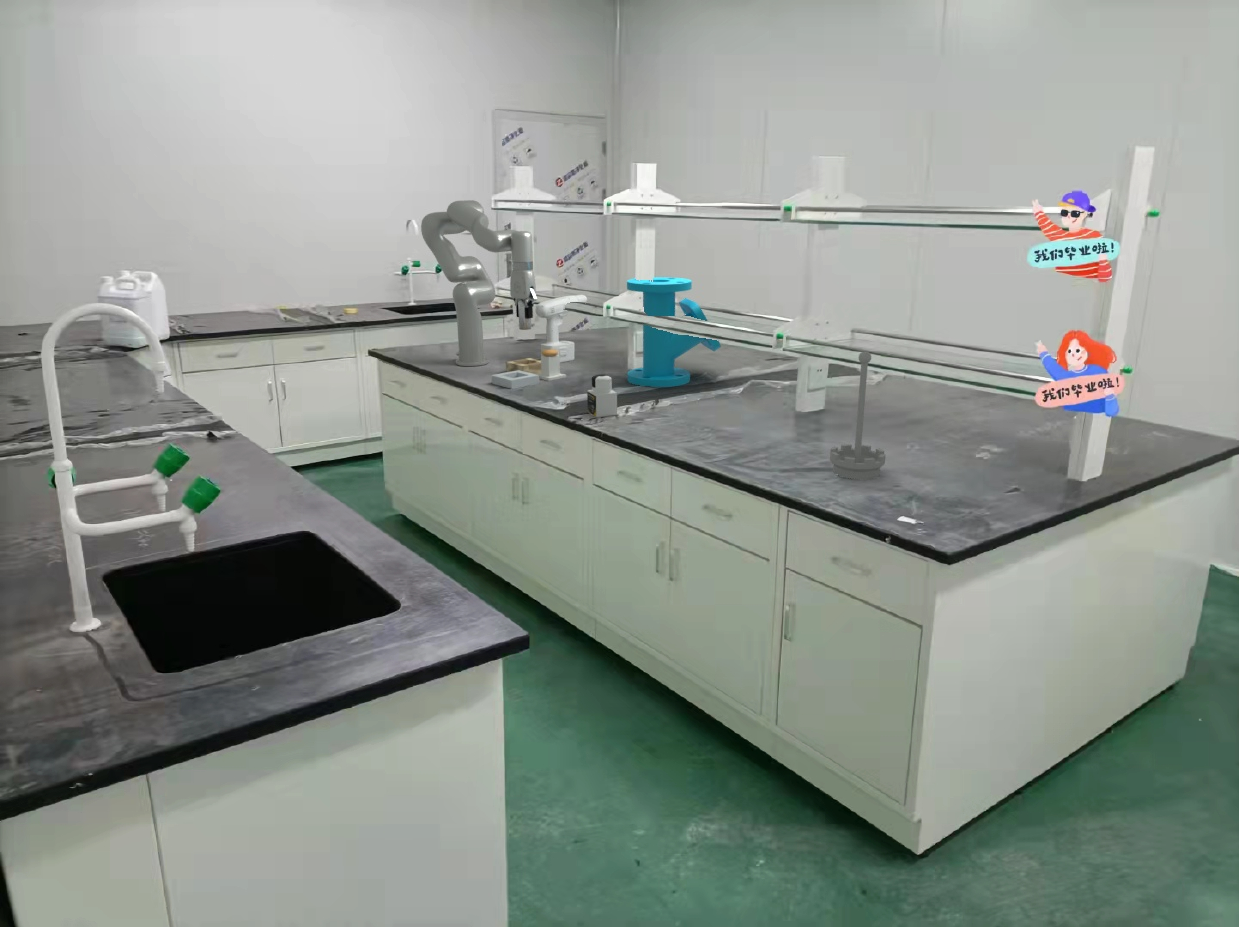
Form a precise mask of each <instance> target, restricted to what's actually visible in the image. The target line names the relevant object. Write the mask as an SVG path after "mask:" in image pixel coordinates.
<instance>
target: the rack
mask: <svg viewBox="0 0 1239 927" xmlns="http://www.w3.org/2000/svg"><path fill="white" fill-rule="evenodd" d="M517 370H520V371H524V372H528V373H532V374H536V375H537V374H541V359H535V358H531V357H527V358H522V359H516V360H509V361H505V373H506V372H512V371H517Z"/></svg>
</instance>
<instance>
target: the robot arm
mask: <svg viewBox="0 0 1239 927" xmlns="http://www.w3.org/2000/svg"><path fill="white" fill-rule="evenodd" d="M489 224H490V222H489V217H488V216H487V215H486V214H485V210H484V207H483V206H482V204H481V203H479V202H478V201H476V200H475V199H473V200H469V199H468V200H455V201H452V202H451V203H450V204H448V206H447V208H446V211H435V212H431V213H428V214H426V215H425V216H424V217H423V218H422V220H421V225H420V232H421V235H422V239H423V240H424V241H423V242H424V243H425V245H426V246H427V247H428V248H429V251H431V253H432V255H433V256H434V258H435V259H436V261H437V263H438V265H439V268H440V269H441V271H442V273H443V274H444V276H445V278H446V279H447V281H449V282H450V283H454V284H455V283H457V284H456V285H455V286H454V288H453V290H452V300H453V303H454V307H455V314H456V324H457V326H456V327H457V339H458V351H457V352H455V353H456V354H455V356H458V359H456V360H455V365H457V366H460V367H461V366H462V367H475V366H476V367H478V366H484V365H487V364H488V363H489V359H488V358H487V357H486V358H485V356H484V355H485V353H484V334H483V333H484V331H483V318H482V315H481V312H480V310H479V308H478V306H482V305H484V306H485V305H487V304H490V303H492V302H493V301H495V298H496V289H495V286H494V283H493V281H492V279H491V277H490V276H489V274H488V272H487V270H486V268H485V267H484V265H483V263H482V262H481V261H480V260H479V259H478V258H477V257H475V256H472V255H468V256H467V255H465V256H462V255H461V254H459V252H458V251H457V249H456V247H455V245H454V244H453V243H452V242H451V241H450V240H449V239H448V238H446V237H445V236H444V235H458V234H462V233H463V232H466V231H467V232H468V233H469V234H471V235H472V238H473V240H474V242H475V243H476V244H477V245H478V246H479V247H481V248H482V249H484V250H486V251H488V252H491V253H503V252H504V253H505V252H511V271H510V272H511V273H510V278H509V279H510V280H509V281H510V284H509V285H510V286H509V293H510V297H511V298H512V300H513V302H514V306H515V308H516V309H515V311H516V312H515V313H516V318H519V311H518V299H524V300H525V305H526V308H525V319H529V318H531V319H533V318H534V312H533V309H534V304H535V303H536V302H537V300H538V298H537V289H536V276H535V272H534V261H533V260H534V256H533V255H534V254H533V235H532V233H531V232H530V231H527V230H526V231H525V230H524V231H523V230H520V231H519V230H515V229H501V230H492V229H490V228H489ZM527 298H528V299H527ZM528 300H530V301H529V302H528Z"/></svg>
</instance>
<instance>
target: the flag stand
mask: <svg viewBox="0 0 1239 927" xmlns="http://www.w3.org/2000/svg"><path fill="white" fill-rule="evenodd" d="M871 360H872V354H871V353H870V352H869V351H866V350H865V351H861V352H860V353H859V354H858V361H859V362H860V372H859V375H860V376H859V389H858V401H857V412H856V413H857V416H856V425H855V426H856V427H855V428H856V429H855V439H854V448H852V444H851V443H849V444H847V443H846V444H845V443H844V444H841V445H840V449H839V448H838V446H833V447H831V449H830V452H829V453H830V455H829V461H830V462H831V463H832V464H833V468H832V469H833V470H832V471H834V472H833V473H834V474H835V475H836V474H838V475H840V476H843V477H846V478H845V479H848V478H849V480H855V479H859V481H860V479H861V481H865V479H867V480H872V478H873V479H876V478H878V477H879V476H880V473H881V472H880V471H881V468H882V467H883V466H884V465H885V464H886V454H885V450H883V449H881V448H875V451H873V450H872V445H866V444H862V443H863V442H862V441H863V429H864V418H865V417H864V415H865V406H866V405H865V403H866V393H867V392H866V391H867V378H868V377H867V376H868V365H869V363H870V362H871ZM838 475H837V476H838ZM840 476H839V477H840ZM877 476H878V477H877ZM843 477H842V478H843ZM875 477H876V478H875ZM850 478H851V479H850ZM862 479H863V480H862Z"/></svg>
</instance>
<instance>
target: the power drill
mask: <svg viewBox="0 0 1239 927" xmlns="http://www.w3.org/2000/svg"><path fill="white" fill-rule="evenodd" d="M570 302H586V303H587V302H588V297H587V296H586V295H584V294H576V295H566V296H559V297H556V298H555V297H554V298H550V299H547V300H544V301H542V302H539V303H537V305H536V306H535V314H536V315H537V317H539V318H541V319H546V326H545V329H546V332H545V333H546V334H545V335H546V341H545V342H543V343H540V353H541V354H540V357H541V356H542V350H547V349H554V350H558V354H557V355H558V356H559V359H560V364H561V363H567V362H572V361H575V345H576V344H575V342H574V341H571V340H570V341H569V340H559V338H560V336H559V335H560V334H559V331H560V330H559V327H560V326H561V325H563V319H564V317H567V315H568V313H569V312H570V311H567V310H563V309H565V305H566V304H567V303H570Z"/></svg>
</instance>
